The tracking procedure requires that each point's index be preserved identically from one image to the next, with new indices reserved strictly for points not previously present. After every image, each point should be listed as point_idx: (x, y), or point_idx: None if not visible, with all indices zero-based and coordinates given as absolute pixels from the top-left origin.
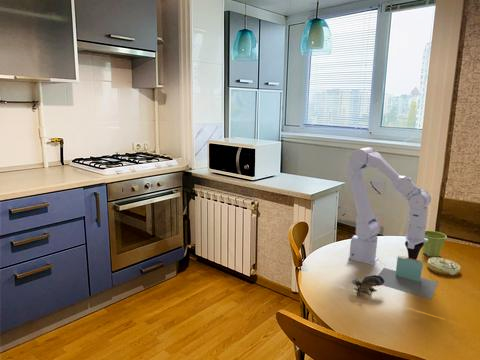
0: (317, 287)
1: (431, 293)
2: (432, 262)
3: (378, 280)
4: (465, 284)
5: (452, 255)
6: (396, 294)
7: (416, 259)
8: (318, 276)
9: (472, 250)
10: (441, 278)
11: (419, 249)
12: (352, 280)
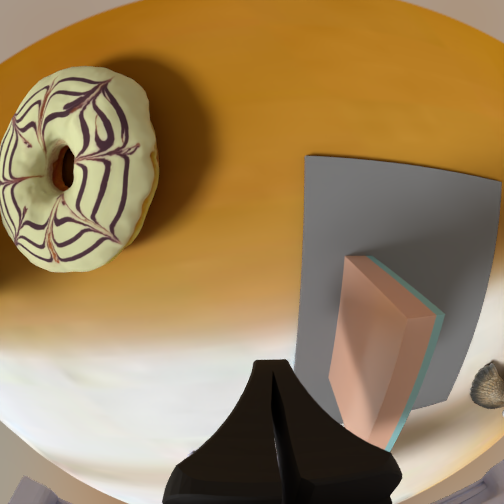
0: (480, 445)
1: (464, 182)
2: (100, 238)
3: None
4: (209, 22)
5: None
6: (496, 309)
7: (278, 370)
8: (431, 474)
9: None
10: (208, 145)
11: (378, 450)
12: None
